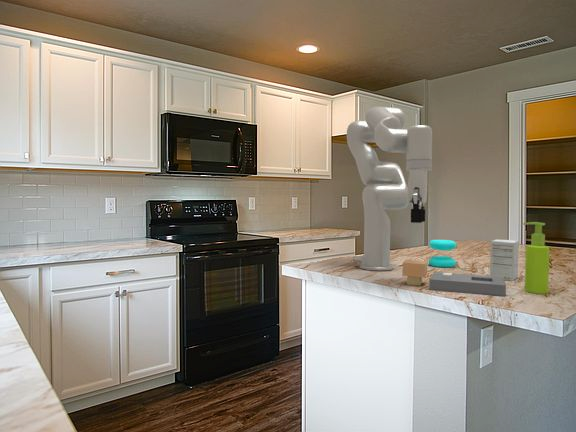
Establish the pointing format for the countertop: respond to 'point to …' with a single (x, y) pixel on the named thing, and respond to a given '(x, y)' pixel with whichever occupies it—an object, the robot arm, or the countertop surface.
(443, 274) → the socket
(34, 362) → the countertop surface
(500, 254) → the supplement box
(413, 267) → the plug
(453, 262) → the donuts
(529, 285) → the soap dispenser
